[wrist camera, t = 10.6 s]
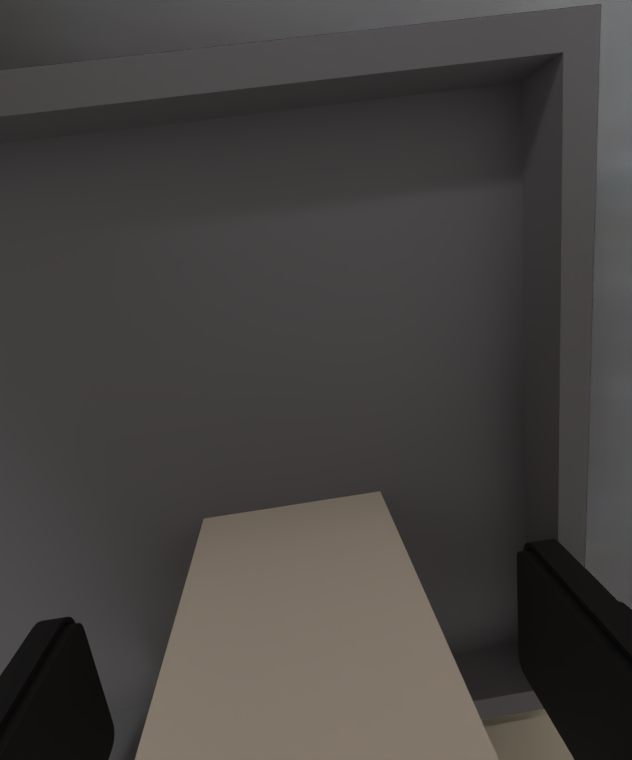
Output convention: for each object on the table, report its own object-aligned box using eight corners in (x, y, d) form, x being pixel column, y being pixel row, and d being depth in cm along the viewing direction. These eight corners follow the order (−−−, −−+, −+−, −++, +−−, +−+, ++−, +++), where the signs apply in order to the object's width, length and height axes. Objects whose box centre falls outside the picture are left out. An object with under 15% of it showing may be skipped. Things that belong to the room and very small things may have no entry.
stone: (203, 518, 10) (109, 848, 5) (380, 491, 10) (505, 774, 5) (234, 662, 11) (189, 1080, 6) (394, 635, 12) (512, 1013, 6)
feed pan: (-273, 146, 8) (-420, 115, 7) (538, 53, 9) (601, 3, 7) (-26, 738, 12) (-77, 820, 10) (539, 641, 13) (581, 702, 11)
